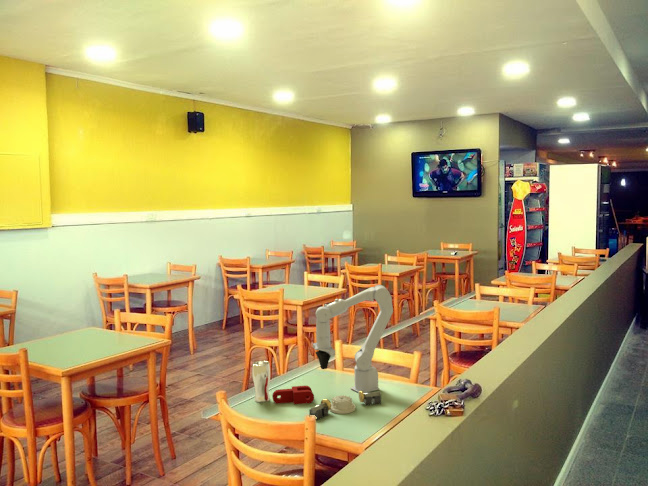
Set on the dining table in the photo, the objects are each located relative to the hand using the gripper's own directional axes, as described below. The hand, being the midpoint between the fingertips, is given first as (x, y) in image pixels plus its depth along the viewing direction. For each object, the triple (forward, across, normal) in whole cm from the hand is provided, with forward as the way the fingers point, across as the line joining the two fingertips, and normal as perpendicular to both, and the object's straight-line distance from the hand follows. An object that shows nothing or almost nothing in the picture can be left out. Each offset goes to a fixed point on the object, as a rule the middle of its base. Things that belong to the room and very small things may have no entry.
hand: (324, 368), depth 242 cm
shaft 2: (+9, +22, +7) cm, 25 cm away
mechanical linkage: (+10, +3, -16) cm, 20 cm away
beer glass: (+10, -5, -26) cm, 28 cm away
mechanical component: (+10, +21, -5) cm, 24 cm away
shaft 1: (+9, +22, -15) cm, 29 cm away
